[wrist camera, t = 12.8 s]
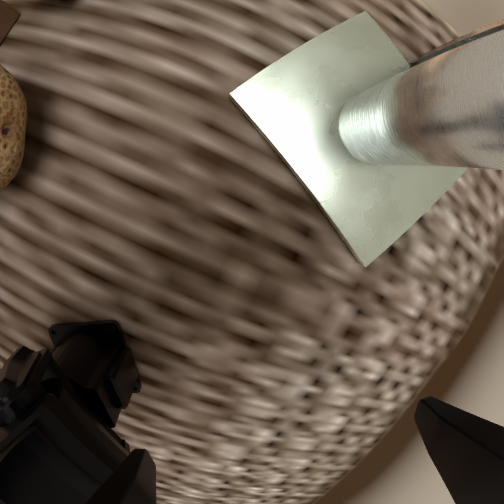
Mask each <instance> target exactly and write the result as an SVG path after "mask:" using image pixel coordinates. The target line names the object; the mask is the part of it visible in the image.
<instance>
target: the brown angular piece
mask: <svg viewBox="0 0 504 504" xmlns="http://www.w3.org/2000/svg"><path fill="white" fill-rule="evenodd" d="M19 15H20V13H19V12H18V11H17V10H15V9H14V8H12V7H11V6H10V5H8V4H7V3H5V2H4V1H2V0H0V44H1V43H2V41H3V40H4V38H5V36H6V35H7V33H8V32H9V30H10V29H11V27H12V26H13V24H14V23H15V22H16V20H17V19H18V17H19Z"/></svg>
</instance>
